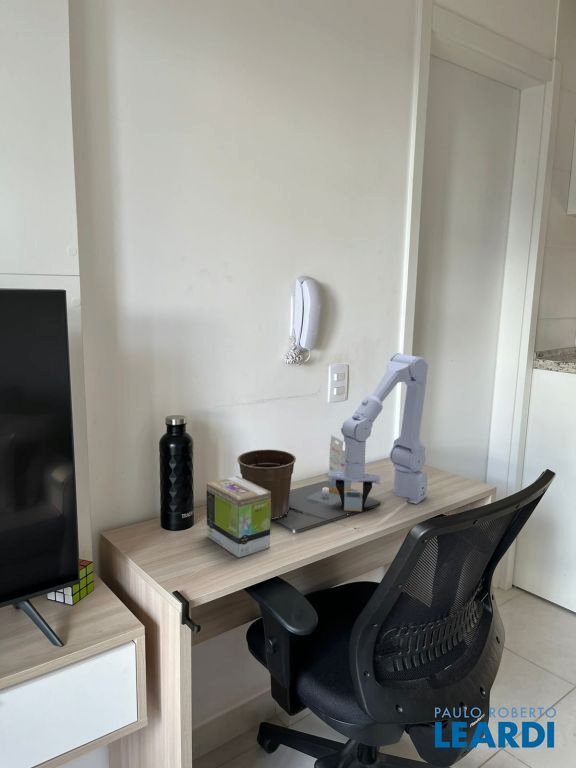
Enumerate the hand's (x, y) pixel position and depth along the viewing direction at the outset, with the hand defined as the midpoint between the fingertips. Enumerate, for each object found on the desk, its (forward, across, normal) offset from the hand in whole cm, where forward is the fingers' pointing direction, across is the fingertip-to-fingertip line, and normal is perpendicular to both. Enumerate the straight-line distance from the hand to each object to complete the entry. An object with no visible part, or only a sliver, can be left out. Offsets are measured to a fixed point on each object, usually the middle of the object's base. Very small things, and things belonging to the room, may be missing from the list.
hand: (352, 505), depth 166 cm
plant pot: (+2, -24, -4) cm, 25 cm away
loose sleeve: (+2, 0, 0) cm, 2 cm away
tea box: (+2, -29, -24) cm, 37 cm away
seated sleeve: (0, -4, +13) cm, 13 cm away
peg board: (+2, -6, +9) cm, 11 cm away
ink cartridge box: (+2, -4, +25) cm, 26 cm away
